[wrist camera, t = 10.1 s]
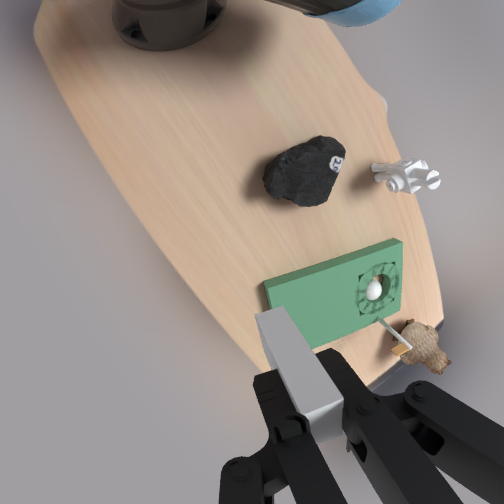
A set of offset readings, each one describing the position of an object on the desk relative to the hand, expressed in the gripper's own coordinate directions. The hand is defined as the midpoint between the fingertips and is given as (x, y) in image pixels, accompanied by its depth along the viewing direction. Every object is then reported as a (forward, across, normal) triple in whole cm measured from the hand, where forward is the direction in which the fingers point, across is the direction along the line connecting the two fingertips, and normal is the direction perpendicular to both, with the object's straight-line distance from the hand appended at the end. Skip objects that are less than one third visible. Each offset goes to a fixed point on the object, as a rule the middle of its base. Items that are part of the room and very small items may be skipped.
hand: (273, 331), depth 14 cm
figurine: (+25, +31, -32) cm, 51 cm away
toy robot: (+25, +26, +2) cm, 36 cm away
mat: (+24, +16, -17) cm, 34 cm away
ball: (+23, +22, -17) cm, 36 cm away
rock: (+25, +12, +4) cm, 28 cm away
